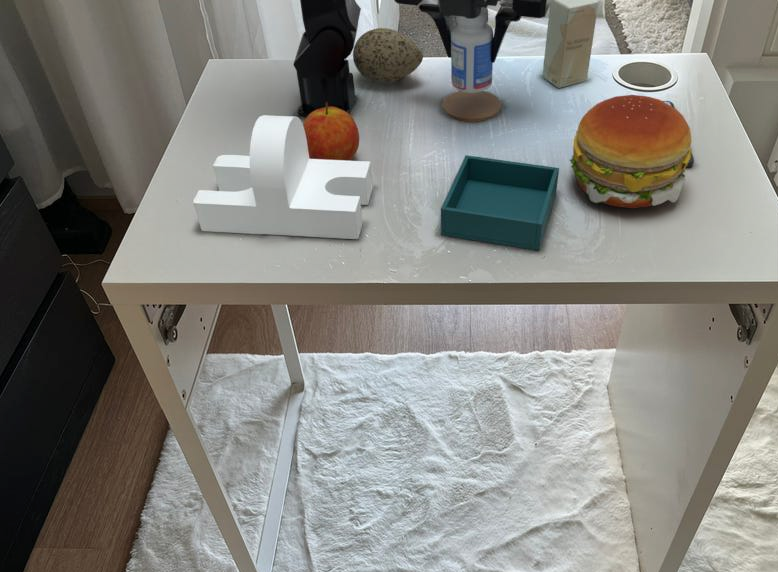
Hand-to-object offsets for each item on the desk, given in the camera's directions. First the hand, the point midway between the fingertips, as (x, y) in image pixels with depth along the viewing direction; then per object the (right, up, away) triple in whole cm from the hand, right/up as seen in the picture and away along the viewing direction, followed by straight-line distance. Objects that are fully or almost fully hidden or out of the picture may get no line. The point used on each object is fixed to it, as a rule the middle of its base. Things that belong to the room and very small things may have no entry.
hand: (471, 58), depth 100 cm
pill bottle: (0, -3, +3) cm, 4 cm away
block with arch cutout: (-22, -22, -11) cm, 33 cm away
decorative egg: (-16, +4, +9) cm, 19 cm away
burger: (+18, -18, -9) cm, 27 cm away
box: (+14, +1, +10) cm, 17 cm away
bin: (+3, -22, -12) cm, 26 cm away
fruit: (-17, -15, -4) cm, 23 cm away
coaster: (0, -5, +5) cm, 7 cm away
